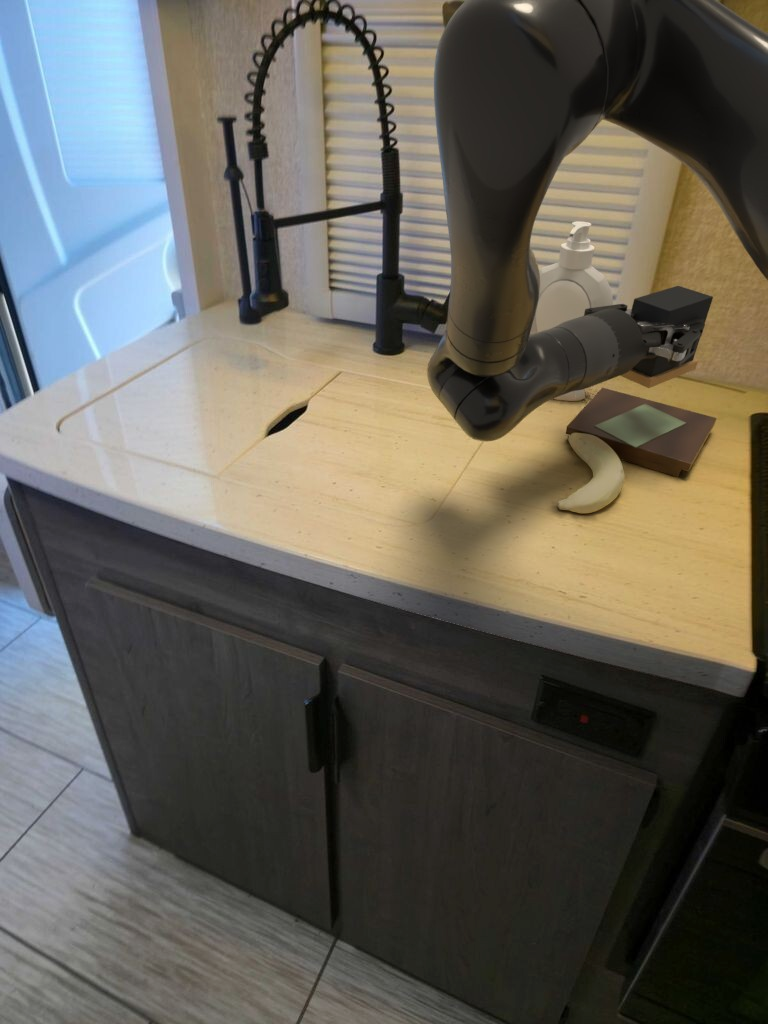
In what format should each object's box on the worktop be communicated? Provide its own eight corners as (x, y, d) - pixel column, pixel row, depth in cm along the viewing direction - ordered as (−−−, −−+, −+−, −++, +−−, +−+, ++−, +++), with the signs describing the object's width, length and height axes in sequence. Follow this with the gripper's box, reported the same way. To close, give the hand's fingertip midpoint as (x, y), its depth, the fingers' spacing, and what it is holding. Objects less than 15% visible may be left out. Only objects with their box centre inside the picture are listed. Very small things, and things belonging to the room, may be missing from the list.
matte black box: (657, 354, 87) (677, 283, 82) (695, 369, 84) (719, 296, 78) (610, 371, 82) (628, 298, 77) (648, 388, 79) (670, 312, 73)
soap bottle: (500, 396, 100) (522, 225, 85) (516, 376, 106) (539, 212, 91) (585, 415, 95) (624, 238, 81) (598, 394, 101) (636, 224, 86)
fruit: (622, 456, 87) (627, 433, 85) (619, 523, 75) (626, 499, 73) (566, 447, 89) (570, 425, 87) (555, 511, 77) (560, 488, 75)
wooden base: (711, 433, 92) (717, 417, 90) (685, 481, 82) (691, 463, 81) (598, 402, 99) (602, 386, 97) (562, 443, 89) (566, 426, 88)
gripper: (652, 339, 66) (745, 306, 74) (544, 298, 75) (638, 272, 83) (634, 407, 70) (723, 368, 78) (534, 360, 79) (624, 330, 88)
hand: (679, 319), depth 81 cm, fingers closed on matte black box, 5 cm apart
